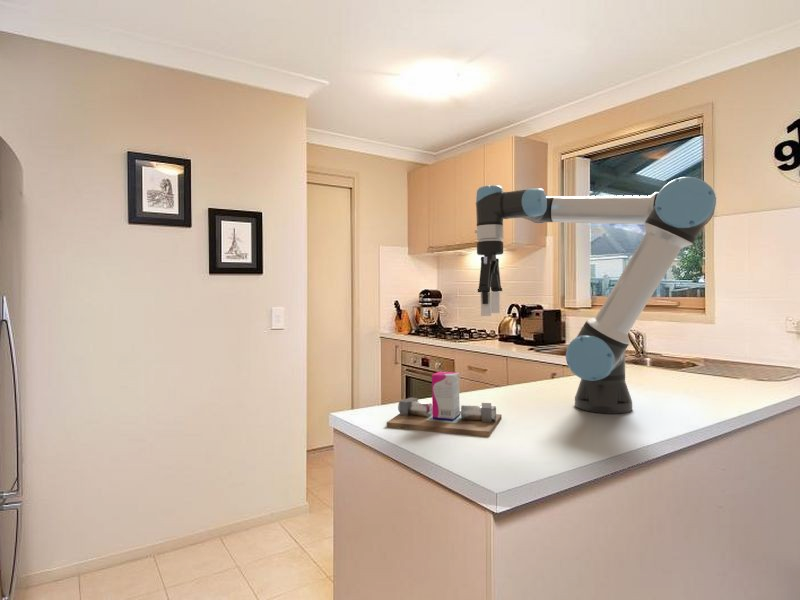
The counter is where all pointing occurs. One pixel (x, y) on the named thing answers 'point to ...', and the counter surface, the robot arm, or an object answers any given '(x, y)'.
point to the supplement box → (445, 396)
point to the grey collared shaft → (479, 413)
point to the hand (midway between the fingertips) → (490, 314)
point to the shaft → (414, 408)
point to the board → (445, 425)
